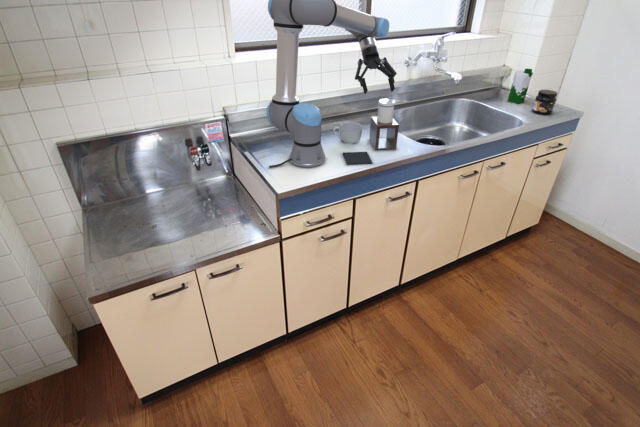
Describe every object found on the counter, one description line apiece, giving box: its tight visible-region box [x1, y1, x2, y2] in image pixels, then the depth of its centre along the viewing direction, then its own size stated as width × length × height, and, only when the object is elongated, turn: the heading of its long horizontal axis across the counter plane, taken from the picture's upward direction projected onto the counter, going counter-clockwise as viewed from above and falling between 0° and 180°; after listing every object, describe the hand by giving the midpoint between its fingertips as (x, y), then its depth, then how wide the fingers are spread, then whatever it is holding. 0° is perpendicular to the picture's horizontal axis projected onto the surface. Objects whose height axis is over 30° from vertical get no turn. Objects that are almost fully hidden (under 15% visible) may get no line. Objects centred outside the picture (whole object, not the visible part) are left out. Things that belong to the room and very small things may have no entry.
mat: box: [342, 151, 373, 166], centre depth 170 cm, size 11×11×1 cm
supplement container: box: [531, 89, 558, 116], centre depth 221 cm, size 10×10×12 cm
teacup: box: [332, 121, 363, 145], centre depth 184 cm, size 14×11×8 cm
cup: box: [376, 98, 396, 123], centre depth 174 cm, size 7×7×9 cm
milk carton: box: [507, 68, 534, 105], centre depth 236 cm, size 9×9×20 cm
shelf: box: [368, 115, 400, 152], centre depth 180 cm, size 10×12×12 cm
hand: (379, 91), depth 177 cm, fingers open, 13 cm apart
